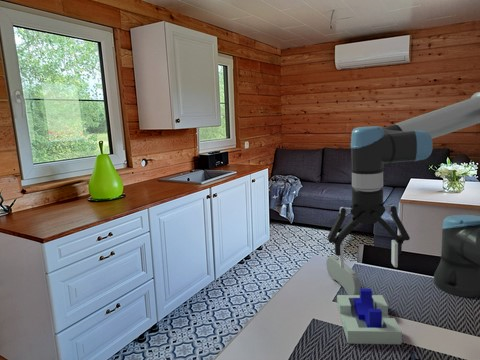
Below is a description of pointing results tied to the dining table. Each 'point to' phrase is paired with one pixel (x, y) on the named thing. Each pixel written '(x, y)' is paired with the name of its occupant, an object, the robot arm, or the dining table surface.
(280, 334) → the dining table surface
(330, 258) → the slide sandal
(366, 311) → the cable clip
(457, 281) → the robot arm
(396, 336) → the holder
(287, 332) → the dining table surface
